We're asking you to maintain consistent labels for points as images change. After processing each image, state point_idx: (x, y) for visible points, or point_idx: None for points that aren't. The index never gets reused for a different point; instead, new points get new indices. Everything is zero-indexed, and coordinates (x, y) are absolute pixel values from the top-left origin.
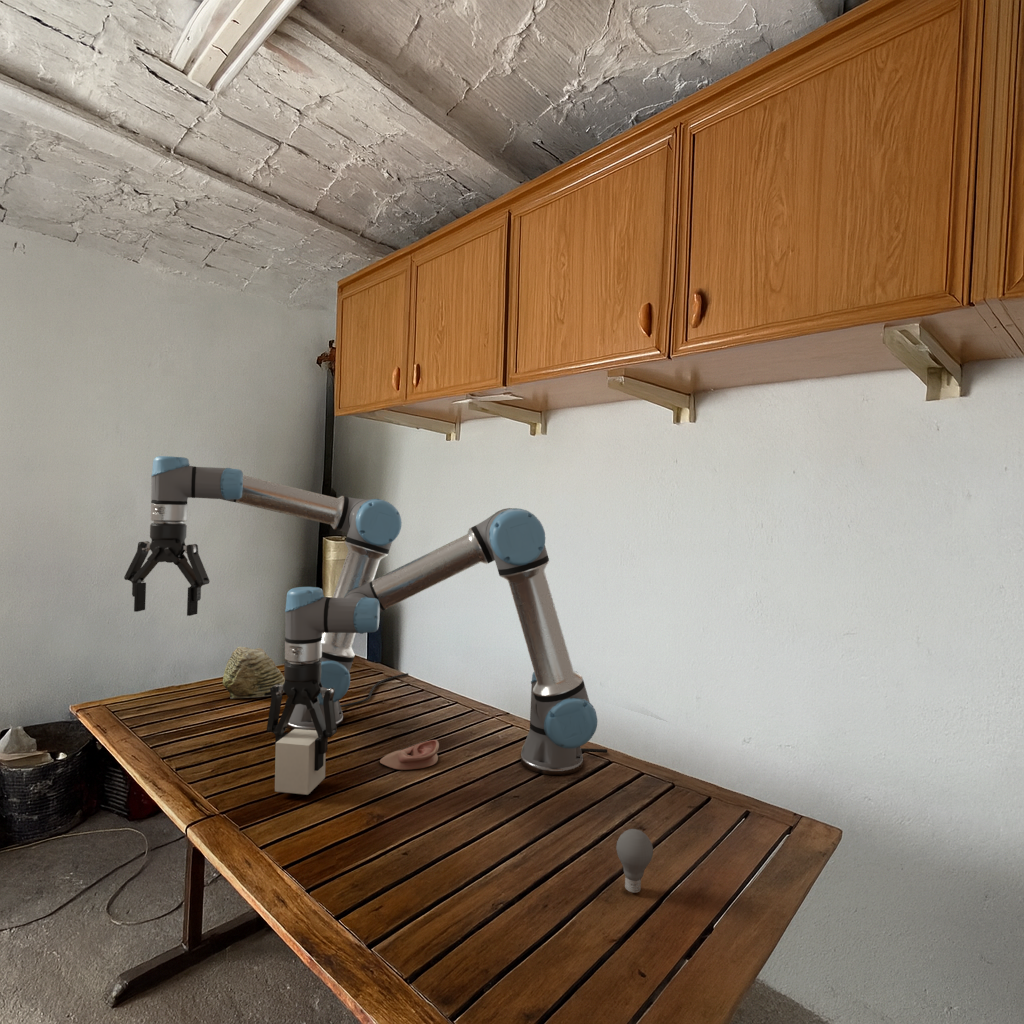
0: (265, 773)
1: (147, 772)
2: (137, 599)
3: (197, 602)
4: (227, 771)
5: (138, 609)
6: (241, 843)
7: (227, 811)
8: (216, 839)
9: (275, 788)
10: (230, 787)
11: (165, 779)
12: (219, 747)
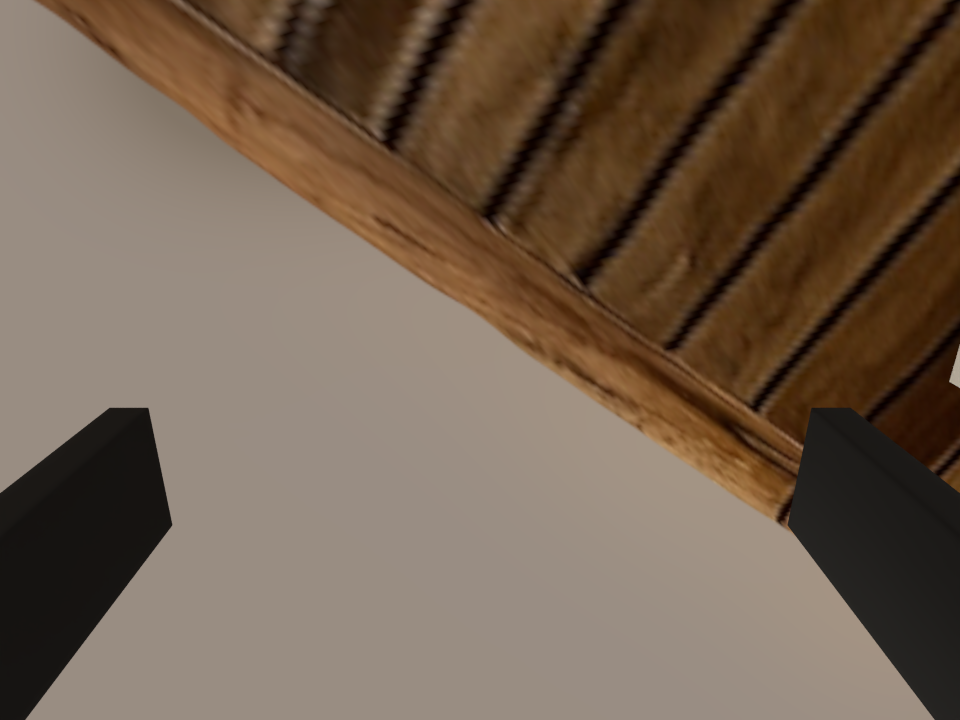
0: (861, 239)
1: (511, 317)
2: (92, 623)
3: (944, 487)
4: (739, 255)
5: (156, 515)
6: None
7: None
8: None
9: (956, 384)
10: (793, 345)
11: (590, 344)
12: (617, 77)
